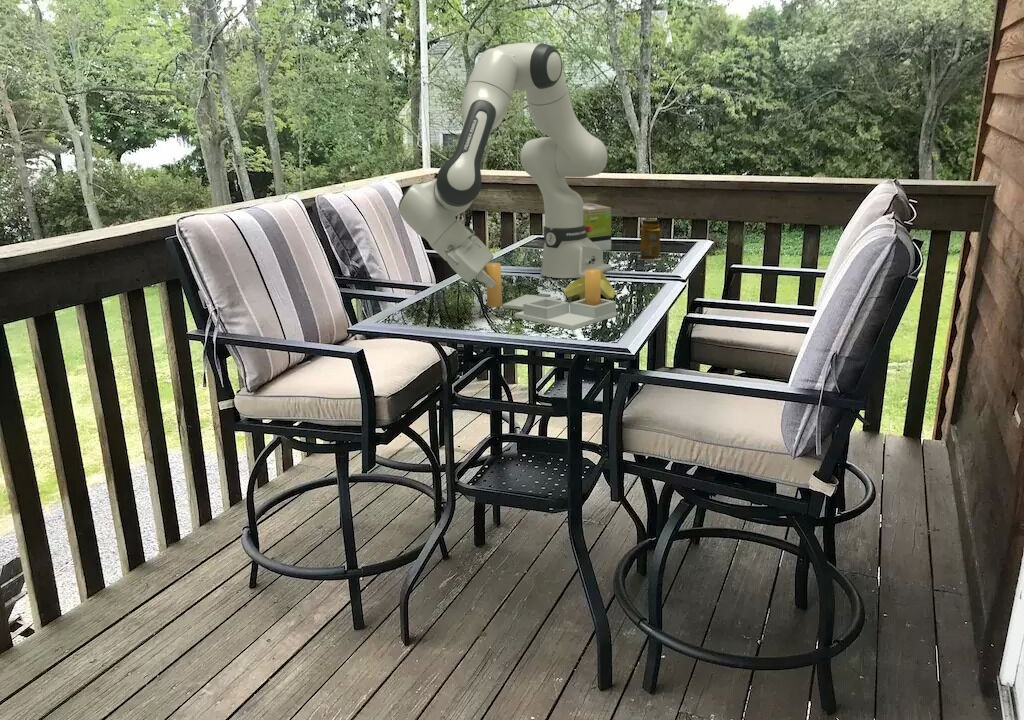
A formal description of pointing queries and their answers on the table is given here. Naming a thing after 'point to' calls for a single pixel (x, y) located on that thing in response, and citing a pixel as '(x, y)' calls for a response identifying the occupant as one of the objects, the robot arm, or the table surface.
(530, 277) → the table surface
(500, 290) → the pin
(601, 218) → the tea box
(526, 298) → the lid
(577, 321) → the housing
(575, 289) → the plastic component
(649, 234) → the condiment
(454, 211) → the robot arm
